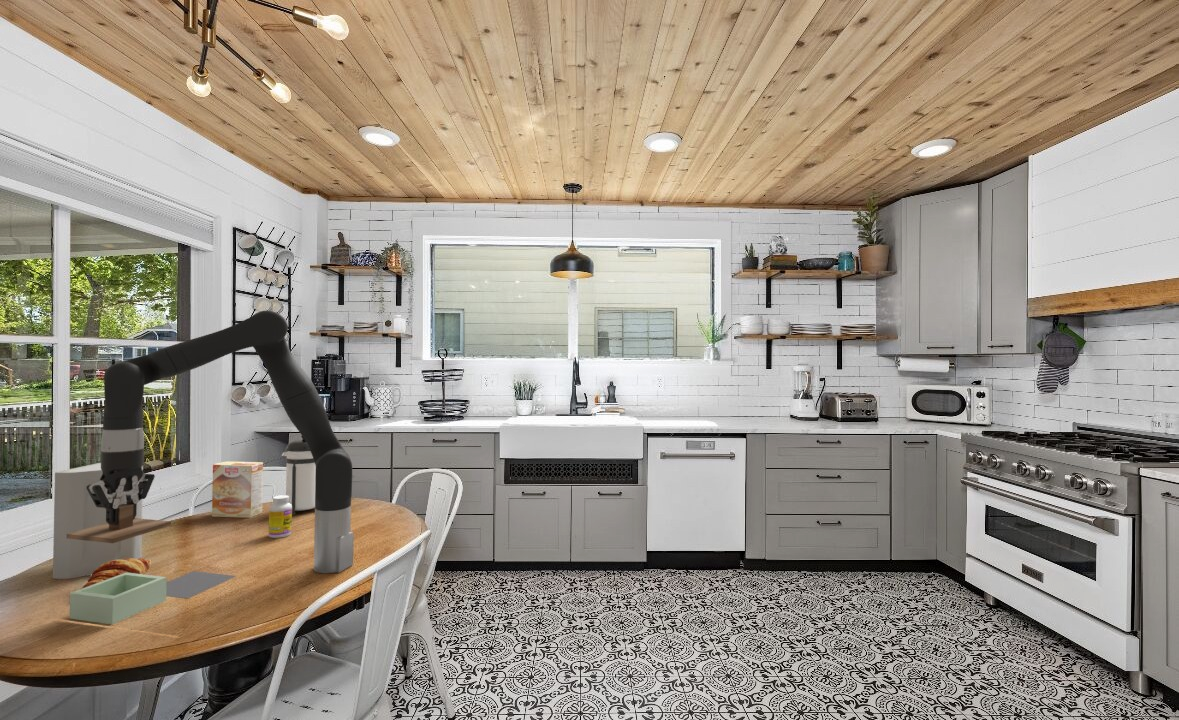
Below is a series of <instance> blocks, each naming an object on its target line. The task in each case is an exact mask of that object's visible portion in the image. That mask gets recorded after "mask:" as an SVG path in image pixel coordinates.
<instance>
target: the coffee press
mask: <svg viewBox="0 0 1179 720" xmlns="http://www.w3.org/2000/svg"><path fill="white" fill-rule="evenodd" d="M301 438H302V439H296V440H292V441H290V442H289V443H288V444H287V446H286V447H285V450H284V451H283V452H282V454H281V457H285V463H286V467H285V471H286V473H285V476H286V477H285V478H286V479H285V495H287V496H289V501H288V503H290V504H291V505H292V517H294V516H296V513H297V512H299V511H306V510H307V511H308V510H312V509H314V510H315V476H316V466H315V462H314V459H313V456H312V454H311V451H310V449H309V446H308V444H307V442H306V440H305V439H304V437H303V436H302V435H301Z"/></svg>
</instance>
